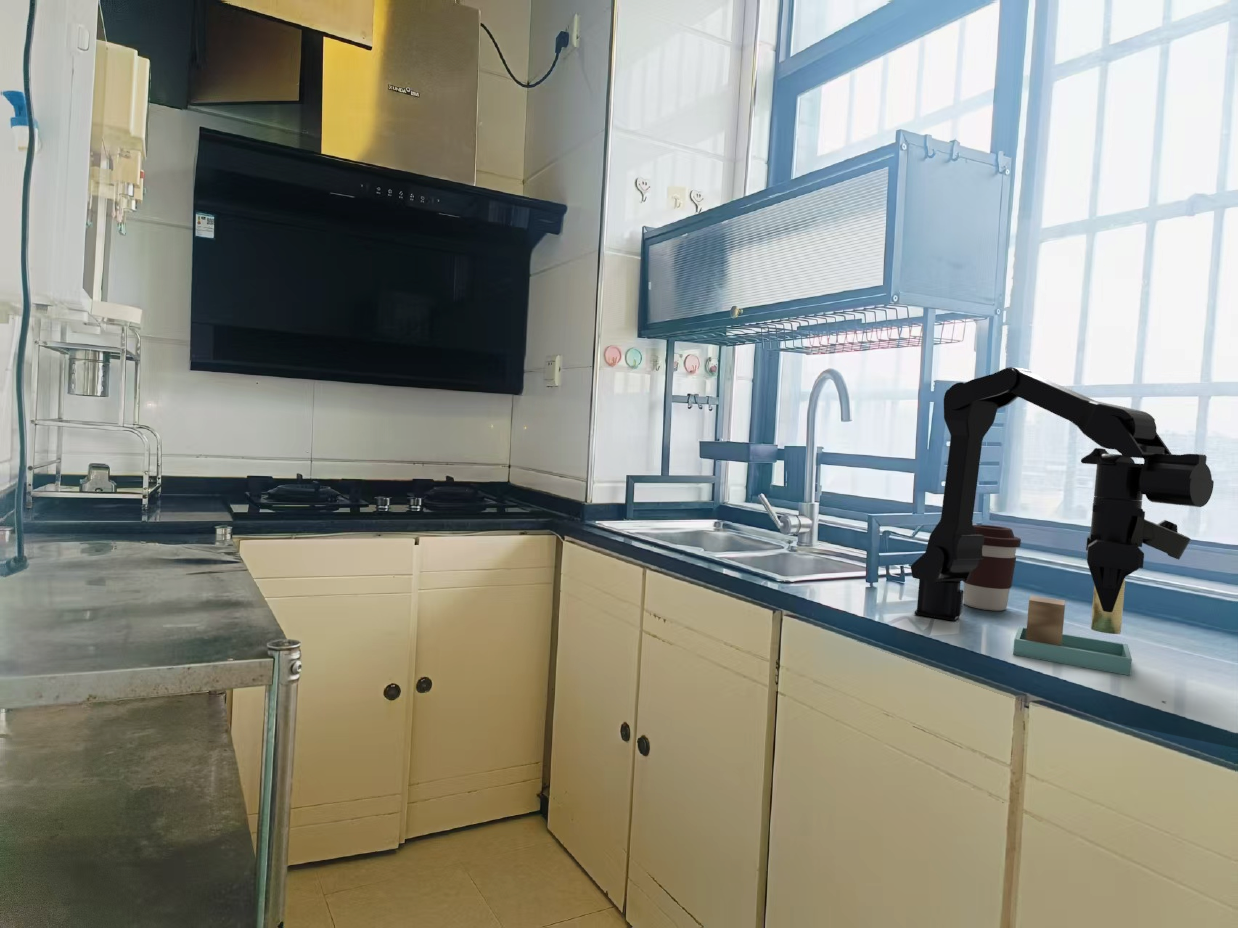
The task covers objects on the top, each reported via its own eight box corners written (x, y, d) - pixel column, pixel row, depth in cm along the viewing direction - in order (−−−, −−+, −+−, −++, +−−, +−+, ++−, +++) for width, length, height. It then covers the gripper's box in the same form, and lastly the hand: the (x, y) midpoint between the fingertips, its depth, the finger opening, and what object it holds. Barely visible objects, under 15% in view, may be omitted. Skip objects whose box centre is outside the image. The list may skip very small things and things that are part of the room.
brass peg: (1091, 630, 109) (1095, 577, 108) (1090, 626, 112) (1094, 574, 112) (1121, 635, 107) (1126, 581, 107) (1119, 630, 110) (1124, 577, 110)
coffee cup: (964, 598, 152) (971, 522, 151) (1020, 608, 146) (1027, 528, 145) (949, 605, 144) (955, 524, 144) (1007, 615, 138) (1014, 531, 137)
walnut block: (1024, 648, 112) (1029, 600, 112) (1026, 641, 116) (1030, 595, 116) (1060, 654, 110) (1064, 605, 110) (1061, 647, 114) (1065, 600, 114)
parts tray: (1013, 654, 111) (1014, 639, 111) (1017, 640, 119) (1019, 626, 119) (1130, 675, 104) (1131, 659, 104) (1126, 659, 112) (1127, 644, 112)
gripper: (1197, 508, 96) (1185, 632, 97) (1180, 502, 113) (1170, 608, 113) (1092, 499, 102) (1081, 616, 103) (1091, 494, 118) (1081, 596, 119)
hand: (1107, 609), depth 109 cm, fingers closed on brass peg, 4 cm apart
